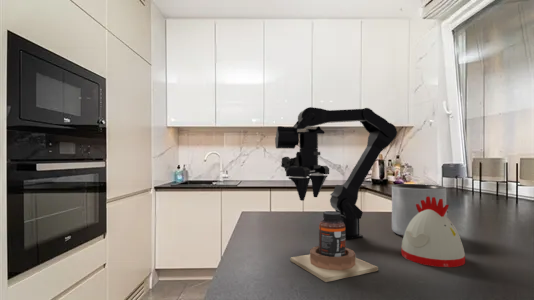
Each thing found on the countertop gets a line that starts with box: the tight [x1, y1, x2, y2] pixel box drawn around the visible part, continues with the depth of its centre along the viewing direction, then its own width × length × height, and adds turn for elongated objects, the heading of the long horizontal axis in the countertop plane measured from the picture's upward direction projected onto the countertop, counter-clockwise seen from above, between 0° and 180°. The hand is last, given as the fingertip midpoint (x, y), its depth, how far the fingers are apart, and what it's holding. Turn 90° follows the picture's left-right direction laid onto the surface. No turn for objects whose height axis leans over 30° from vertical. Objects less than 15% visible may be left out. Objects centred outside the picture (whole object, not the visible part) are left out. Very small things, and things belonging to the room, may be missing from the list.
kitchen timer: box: [400, 196, 466, 268], centre depth 76 cm, size 14×14×15 cm
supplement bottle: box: [318, 210, 347, 257], centre depth 70 cm, size 6×6×11 cm
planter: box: [391, 183, 448, 237], centre depth 99 cm, size 16×16×16 cm
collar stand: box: [290, 245, 379, 283], centre depth 70 cm, size 14×14×3 cm
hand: (309, 198), depth 95 cm, fingers open, 9 cm apart
